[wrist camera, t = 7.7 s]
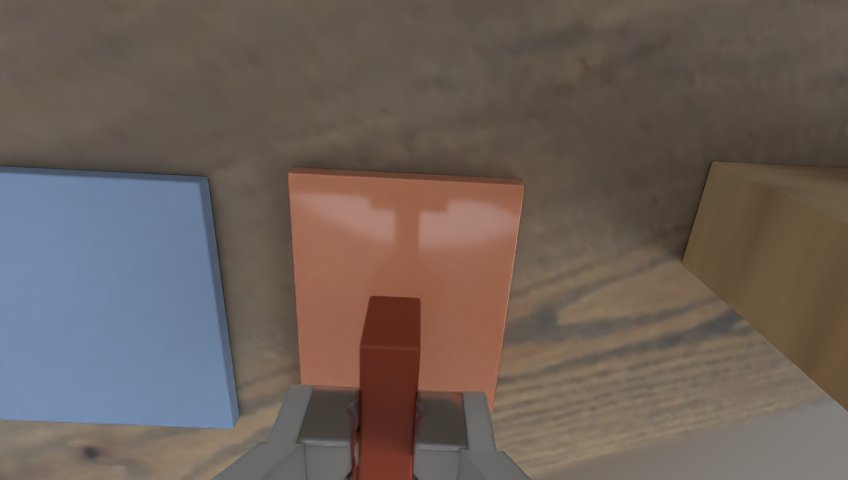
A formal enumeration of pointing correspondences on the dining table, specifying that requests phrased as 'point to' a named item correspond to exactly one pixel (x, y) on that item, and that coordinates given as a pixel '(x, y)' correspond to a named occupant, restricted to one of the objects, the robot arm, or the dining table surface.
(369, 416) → the terracotta spoon
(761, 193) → the spoon stand
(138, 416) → the blue tile
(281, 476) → the robot arm
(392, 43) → the dining table surface
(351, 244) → the terracotta tile
